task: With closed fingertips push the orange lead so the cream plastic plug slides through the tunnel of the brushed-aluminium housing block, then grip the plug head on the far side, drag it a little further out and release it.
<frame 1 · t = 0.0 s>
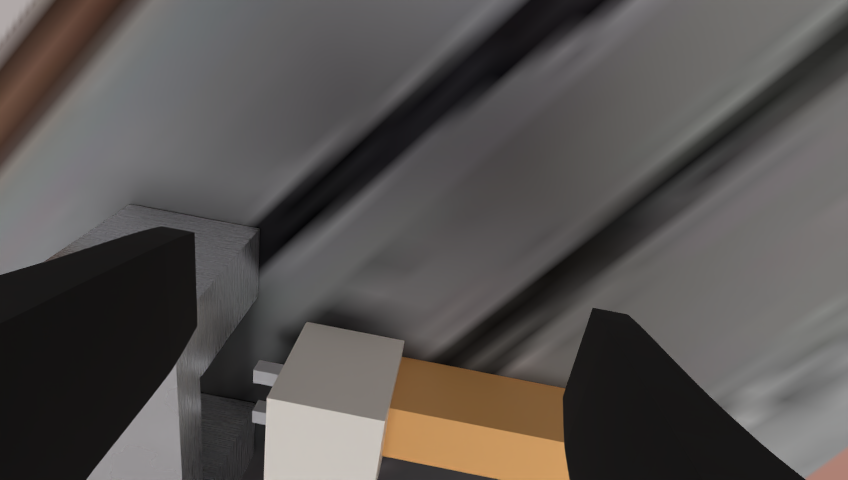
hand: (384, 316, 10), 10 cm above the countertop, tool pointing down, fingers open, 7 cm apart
housing: (198, 341, 24), on the countertop
plug: (350, 370, 24), on the countertop
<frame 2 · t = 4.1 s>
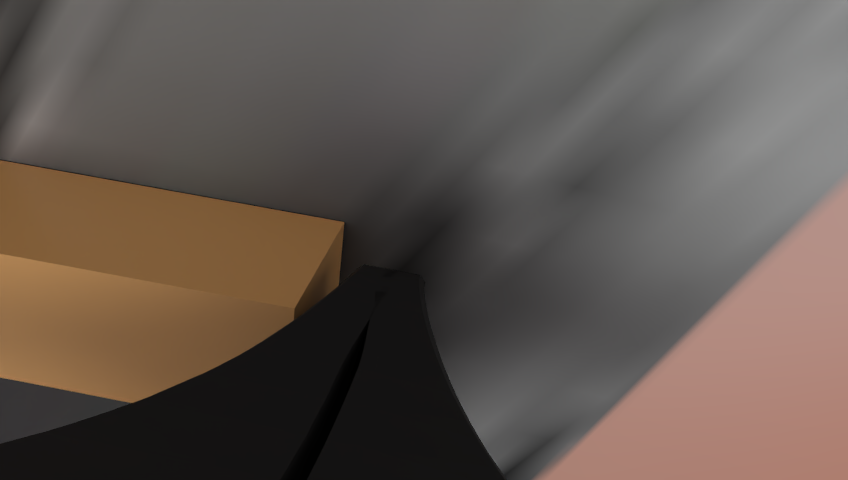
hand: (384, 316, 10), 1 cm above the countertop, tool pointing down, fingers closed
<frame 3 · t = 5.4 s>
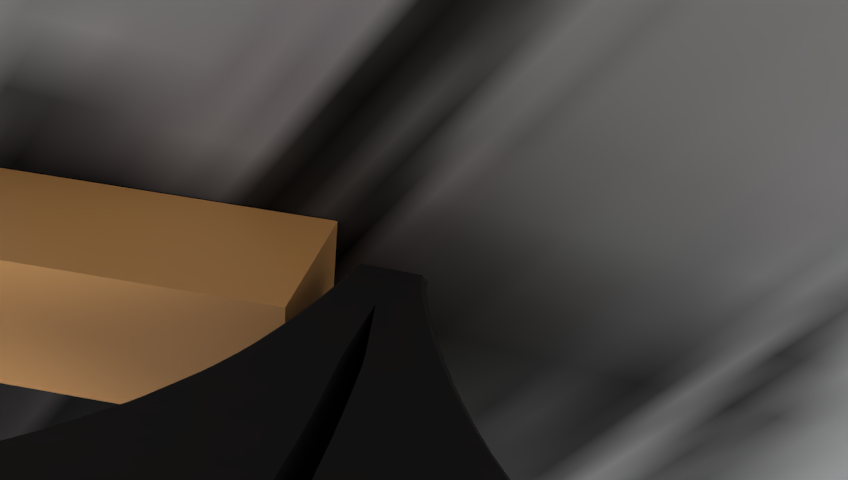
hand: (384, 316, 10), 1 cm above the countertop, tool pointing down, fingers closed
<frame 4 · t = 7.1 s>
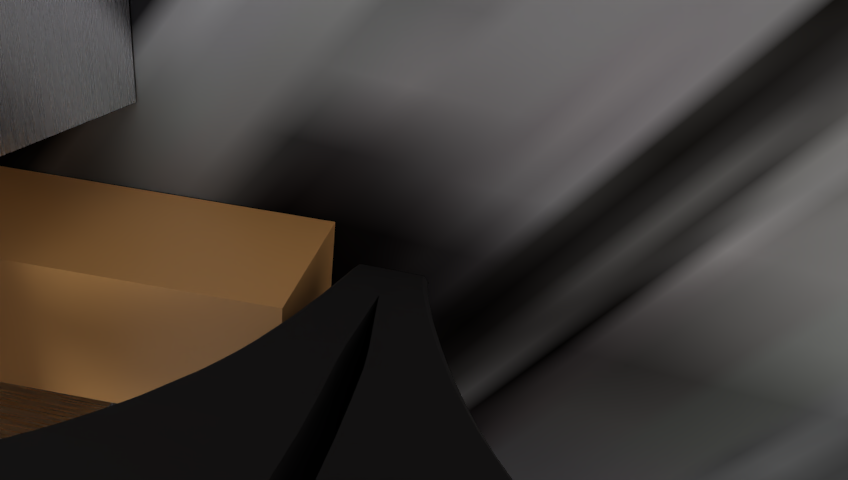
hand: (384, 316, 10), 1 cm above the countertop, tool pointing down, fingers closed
housing: (25, 218, 12), on the countertop
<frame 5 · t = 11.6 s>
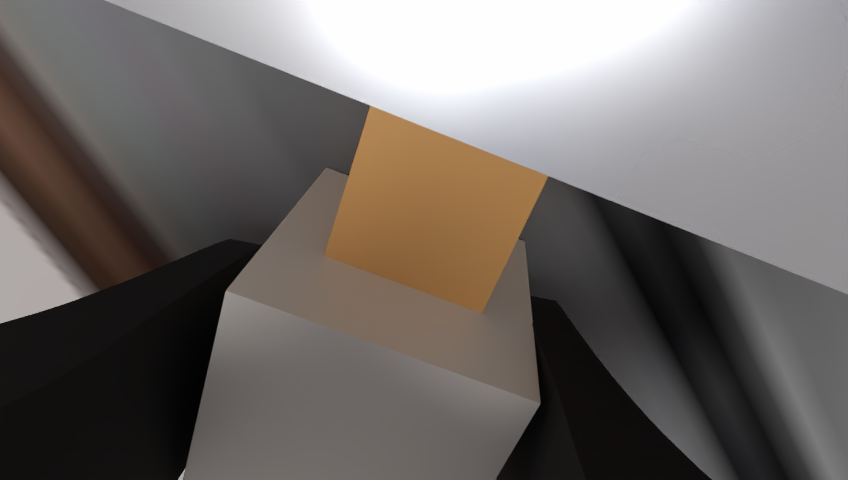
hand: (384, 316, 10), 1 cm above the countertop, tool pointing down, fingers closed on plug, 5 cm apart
plug: (393, 288, 12), on the countertop, touching gripper
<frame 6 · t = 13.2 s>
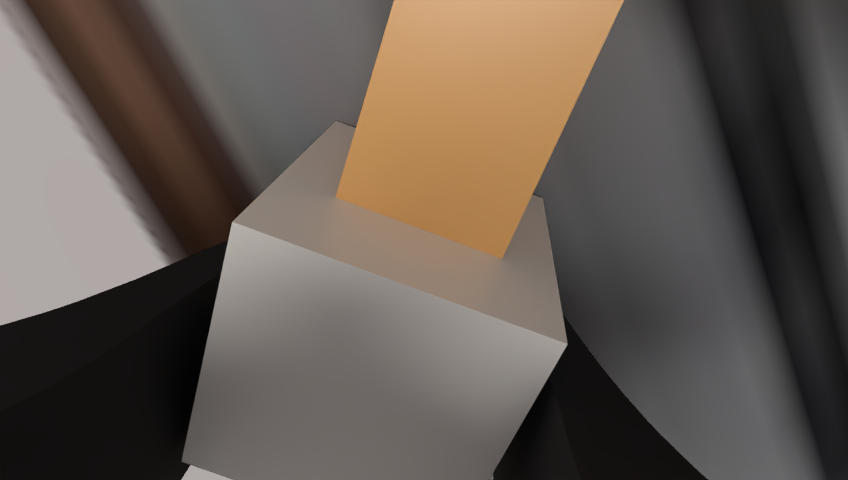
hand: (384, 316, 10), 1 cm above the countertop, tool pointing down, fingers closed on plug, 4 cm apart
plug: (405, 250, 11), on the countertop, touching gripper
when the fingers open (1 cm above the countertop, at t = 13.8 s): plug stays where it is, on the countertop.
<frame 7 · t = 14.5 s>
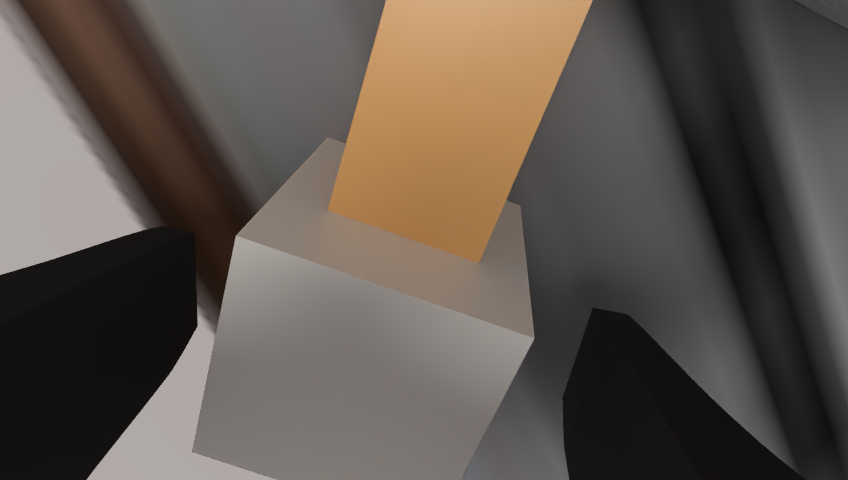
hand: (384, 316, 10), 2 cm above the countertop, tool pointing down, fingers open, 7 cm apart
plug: (395, 255, 12), on the countertop
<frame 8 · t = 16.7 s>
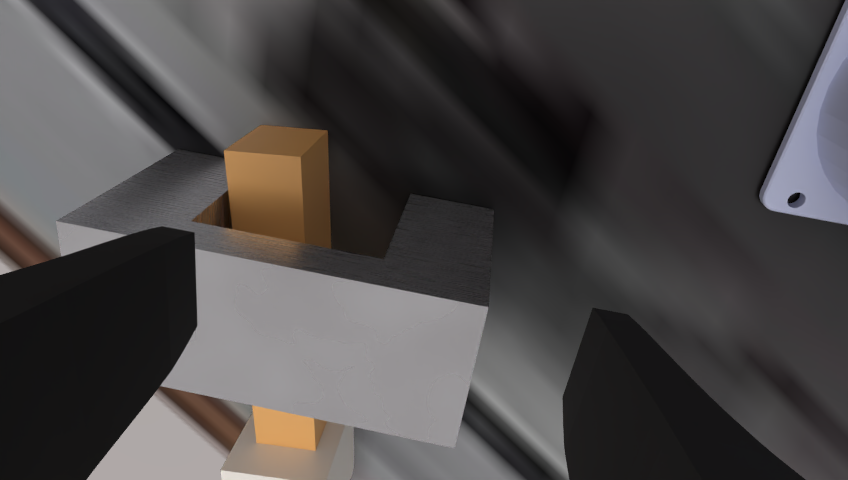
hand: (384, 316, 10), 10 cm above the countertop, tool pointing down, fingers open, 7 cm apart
housing: (328, 240, 22), on the countertop
plug: (310, 429, 26), on the countertop
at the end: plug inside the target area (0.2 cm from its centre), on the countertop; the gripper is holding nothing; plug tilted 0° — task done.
